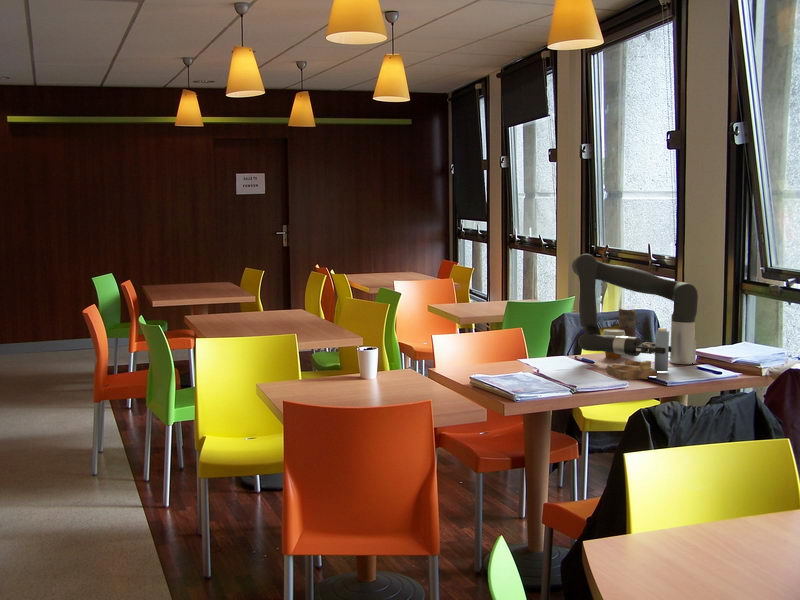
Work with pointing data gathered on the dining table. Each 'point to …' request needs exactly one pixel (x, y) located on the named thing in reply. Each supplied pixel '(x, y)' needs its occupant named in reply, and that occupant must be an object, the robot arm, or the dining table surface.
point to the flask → (661, 342)
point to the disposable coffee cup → (615, 333)
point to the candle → (627, 321)
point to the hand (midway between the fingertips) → (668, 350)
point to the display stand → (632, 370)
